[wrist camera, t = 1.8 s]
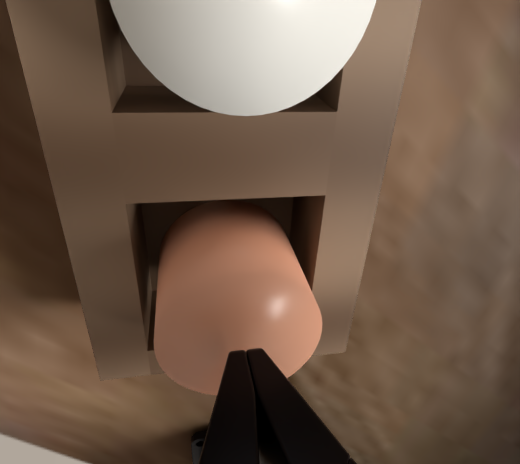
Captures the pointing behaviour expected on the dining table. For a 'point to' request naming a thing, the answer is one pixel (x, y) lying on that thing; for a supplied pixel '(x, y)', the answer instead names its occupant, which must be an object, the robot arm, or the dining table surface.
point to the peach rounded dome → (230, 295)
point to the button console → (201, 165)
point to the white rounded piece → (243, 48)
